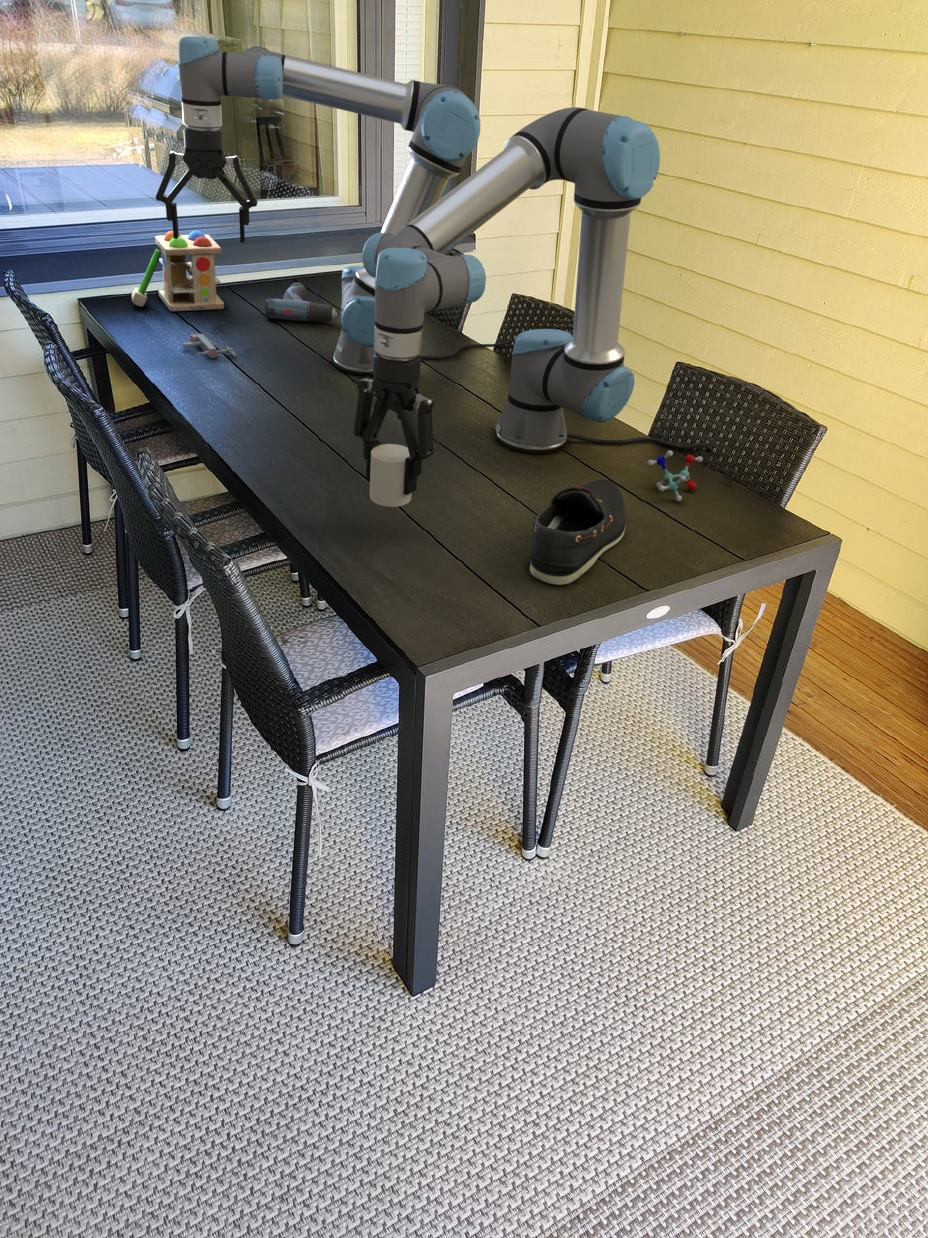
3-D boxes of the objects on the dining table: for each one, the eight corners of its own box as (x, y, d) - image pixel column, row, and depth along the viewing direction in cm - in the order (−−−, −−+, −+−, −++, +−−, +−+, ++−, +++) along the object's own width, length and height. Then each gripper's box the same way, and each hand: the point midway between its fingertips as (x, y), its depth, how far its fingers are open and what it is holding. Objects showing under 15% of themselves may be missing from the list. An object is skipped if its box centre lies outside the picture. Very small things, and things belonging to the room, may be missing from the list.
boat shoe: (648, 521, 183) (657, 470, 178) (567, 591, 159) (574, 534, 154) (587, 503, 189) (593, 452, 184) (499, 567, 165) (504, 512, 160)
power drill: (344, 304, 276) (335, 327, 259) (277, 298, 275) (264, 321, 258) (344, 285, 273) (335, 306, 256) (277, 279, 272) (264, 300, 255)
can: (396, 511, 164) (398, 466, 160) (361, 498, 167) (362, 453, 162) (418, 495, 169) (421, 451, 165) (384, 483, 172) (386, 440, 167)
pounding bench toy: (137, 313, 255) (129, 242, 244) (126, 297, 265) (119, 228, 255) (225, 308, 264) (221, 239, 254) (211, 293, 274) (207, 225, 264)
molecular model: (706, 495, 186) (690, 444, 184) (657, 509, 189) (642, 459, 188) (711, 487, 196) (697, 439, 195) (665, 501, 200) (651, 454, 198)
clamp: (178, 335, 238) (218, 331, 242) (178, 343, 239) (218, 340, 243) (197, 356, 227) (238, 351, 232) (197, 365, 228) (239, 360, 233)
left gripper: (134, 125, 189) (145, 239, 201) (266, 134, 193) (269, 246, 205) (140, 119, 195) (150, 231, 207) (267, 128, 199) (270, 237, 211)
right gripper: (331, 343, 155) (330, 474, 168) (437, 375, 147) (427, 511, 160) (360, 332, 161) (357, 460, 174) (463, 363, 153) (452, 495, 166)
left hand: (209, 239), depth 206 cm, fingers open, 13 cm apart
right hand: (391, 484), depth 167 cm, fingers closed on can, 7 cm apart
